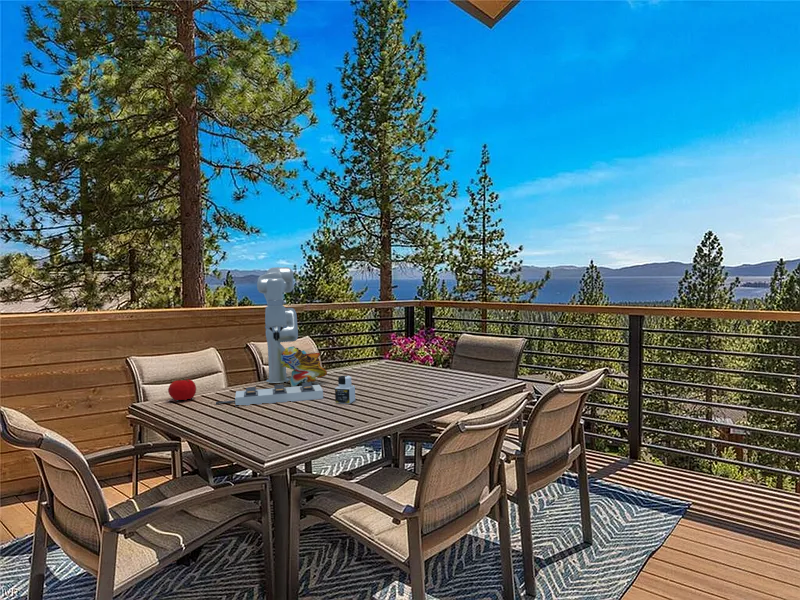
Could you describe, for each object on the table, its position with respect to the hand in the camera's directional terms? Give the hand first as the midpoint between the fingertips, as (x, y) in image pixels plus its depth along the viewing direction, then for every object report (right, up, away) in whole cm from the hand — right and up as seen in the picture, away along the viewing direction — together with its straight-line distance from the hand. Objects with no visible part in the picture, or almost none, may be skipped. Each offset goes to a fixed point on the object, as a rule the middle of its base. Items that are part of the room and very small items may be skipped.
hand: (276, 340), depth 260 cm
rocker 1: (-8, -23, -15) cm, 29 cm away
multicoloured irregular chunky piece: (+9, -26, +23) cm, 36 cm away
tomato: (-44, -29, -6) cm, 53 cm away
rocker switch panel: (-1, -28, -10) cm, 30 cm away
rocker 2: (+17, -22, -8) cm, 29 cm away
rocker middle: (+4, -22, -12) cm, 26 cm away
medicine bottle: (+36, -27, -18) cm, 49 cm away
